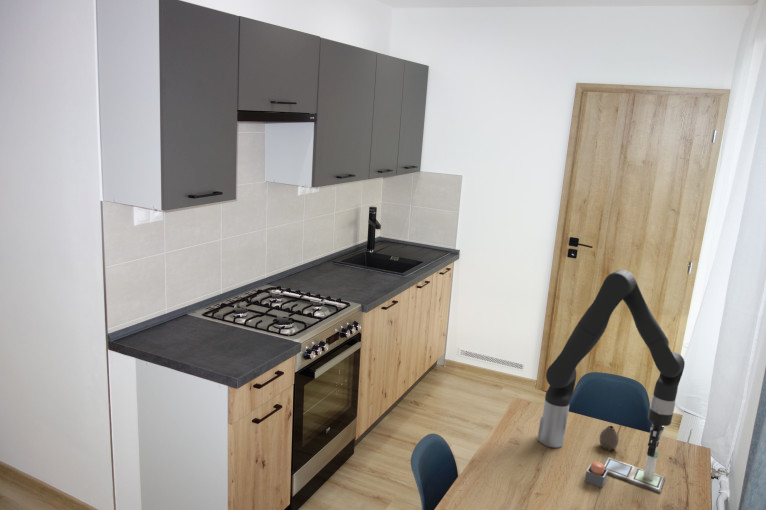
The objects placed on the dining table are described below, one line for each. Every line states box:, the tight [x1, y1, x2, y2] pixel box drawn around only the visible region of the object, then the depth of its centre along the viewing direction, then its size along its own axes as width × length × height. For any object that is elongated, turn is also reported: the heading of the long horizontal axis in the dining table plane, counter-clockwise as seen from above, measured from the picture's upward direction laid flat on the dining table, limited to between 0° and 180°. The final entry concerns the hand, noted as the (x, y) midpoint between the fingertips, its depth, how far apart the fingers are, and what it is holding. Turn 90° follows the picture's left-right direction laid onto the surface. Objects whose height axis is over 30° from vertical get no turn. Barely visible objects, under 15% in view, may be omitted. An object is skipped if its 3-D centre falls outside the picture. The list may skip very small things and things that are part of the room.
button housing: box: [584, 463, 608, 489], centre depth 212 cm, size 6×6×4 cm
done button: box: [590, 461, 605, 476], centre depth 212 cm, size 4×4×3 cm
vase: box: [599, 425, 620, 451], centre depth 235 cm, size 7×7×9 cm
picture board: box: [603, 456, 666, 494], centre depth 218 cm, size 20×11×1 cm, turn 57°
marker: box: [643, 448, 659, 481], centre depth 214 cm, size 4×4×11 cm
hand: (652, 450), depth 213 cm, fingers open, 8 cm apart
